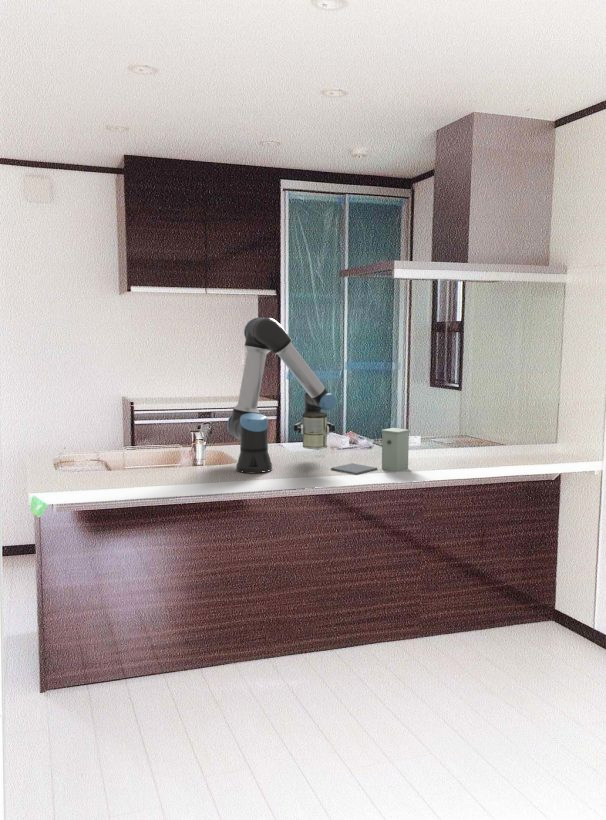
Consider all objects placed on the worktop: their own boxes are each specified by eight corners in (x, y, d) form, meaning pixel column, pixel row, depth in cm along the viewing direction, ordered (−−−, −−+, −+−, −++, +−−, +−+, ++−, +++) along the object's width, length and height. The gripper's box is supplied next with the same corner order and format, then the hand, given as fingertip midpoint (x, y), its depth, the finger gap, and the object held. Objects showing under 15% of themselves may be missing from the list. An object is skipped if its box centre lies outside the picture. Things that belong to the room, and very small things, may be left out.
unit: (396, 471, 308) (397, 432, 306) (380, 468, 314) (380, 429, 312) (409, 468, 315) (410, 429, 313) (393, 465, 321) (394, 427, 318)
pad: (356, 474, 302) (356, 472, 302) (330, 469, 312) (330, 467, 312) (377, 469, 312) (377, 467, 312) (352, 464, 322) (352, 463, 322)
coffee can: (299, 445, 311) (299, 412, 309) (322, 444, 314) (322, 411, 312) (306, 449, 301) (306, 415, 299) (330, 448, 304) (330, 414, 302)
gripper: (338, 431, 325) (342, 439, 303) (287, 431, 325) (287, 439, 303) (339, 414, 324) (342, 421, 302) (287, 414, 324) (287, 421, 302)
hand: (315, 430), depth 302 cm, fingers closed on coffee can, 10 cm apart
